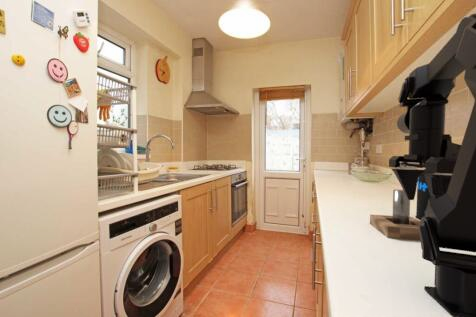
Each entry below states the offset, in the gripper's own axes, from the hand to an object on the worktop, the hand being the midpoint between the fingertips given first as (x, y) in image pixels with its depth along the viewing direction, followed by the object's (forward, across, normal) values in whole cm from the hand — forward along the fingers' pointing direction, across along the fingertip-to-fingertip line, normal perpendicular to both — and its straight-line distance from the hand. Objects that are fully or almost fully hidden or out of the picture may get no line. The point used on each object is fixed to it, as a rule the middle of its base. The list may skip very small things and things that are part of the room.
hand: (423, 204), depth 48 cm
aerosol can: (+12, +35, -22) cm, 43 cm away
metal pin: (+12, +19, -5) cm, 23 cm away
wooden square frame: (+12, +19, -5) cm, 23 cm away
